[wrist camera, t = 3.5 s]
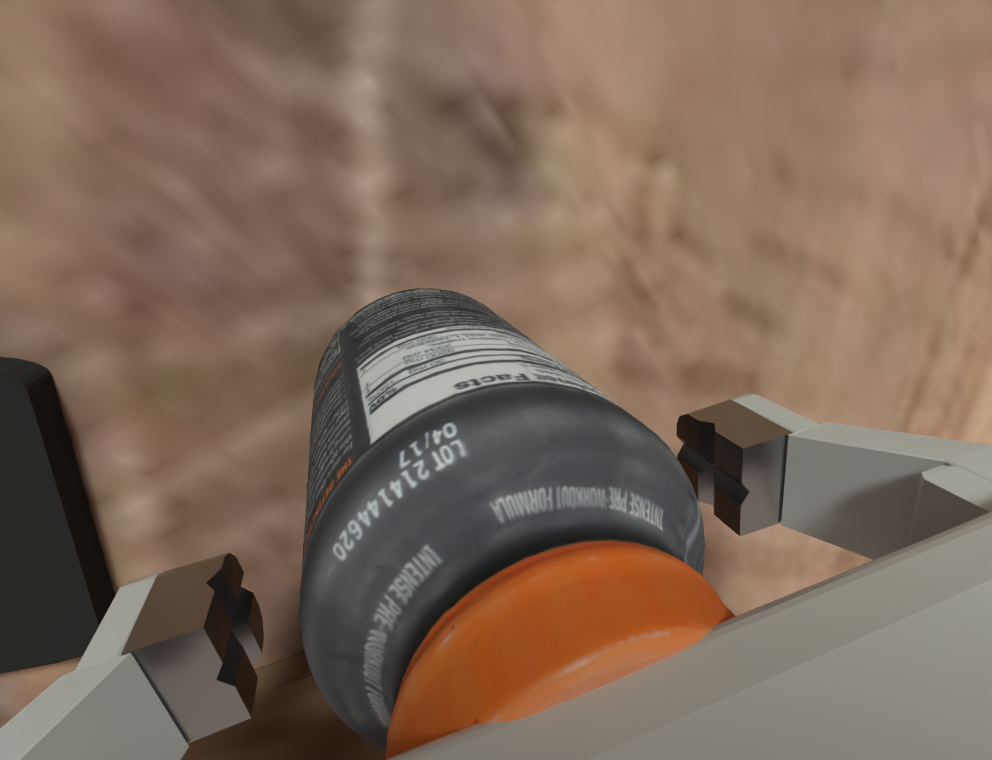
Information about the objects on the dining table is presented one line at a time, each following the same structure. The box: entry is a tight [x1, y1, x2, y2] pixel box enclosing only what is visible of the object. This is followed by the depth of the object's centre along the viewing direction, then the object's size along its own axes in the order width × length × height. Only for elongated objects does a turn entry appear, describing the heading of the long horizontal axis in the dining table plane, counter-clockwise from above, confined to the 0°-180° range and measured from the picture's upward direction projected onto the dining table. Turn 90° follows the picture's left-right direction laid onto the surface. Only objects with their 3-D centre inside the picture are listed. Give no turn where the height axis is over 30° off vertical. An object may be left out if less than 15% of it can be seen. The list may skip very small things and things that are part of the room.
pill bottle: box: [299, 288, 736, 760], centre depth 10 cm, size 6×6×11 cm
